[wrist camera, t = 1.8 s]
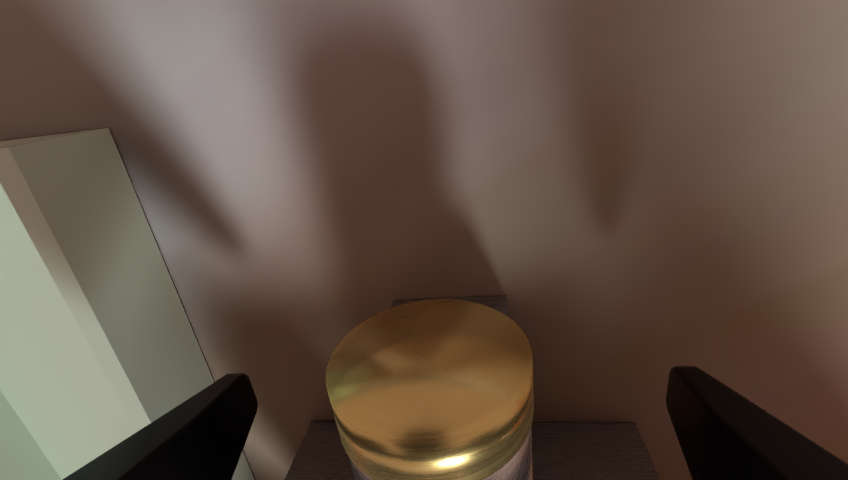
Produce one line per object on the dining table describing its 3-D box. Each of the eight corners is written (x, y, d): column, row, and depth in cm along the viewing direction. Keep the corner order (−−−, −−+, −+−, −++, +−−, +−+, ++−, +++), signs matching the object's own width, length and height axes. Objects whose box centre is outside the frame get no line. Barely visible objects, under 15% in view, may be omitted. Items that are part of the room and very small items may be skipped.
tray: (275, 529, 16) (244, 602, 14) (96, 521, 18) (43, 586, 15) (108, 127, 10) (8, 147, 8) (-147, 159, 11) (-294, 183, 9)
